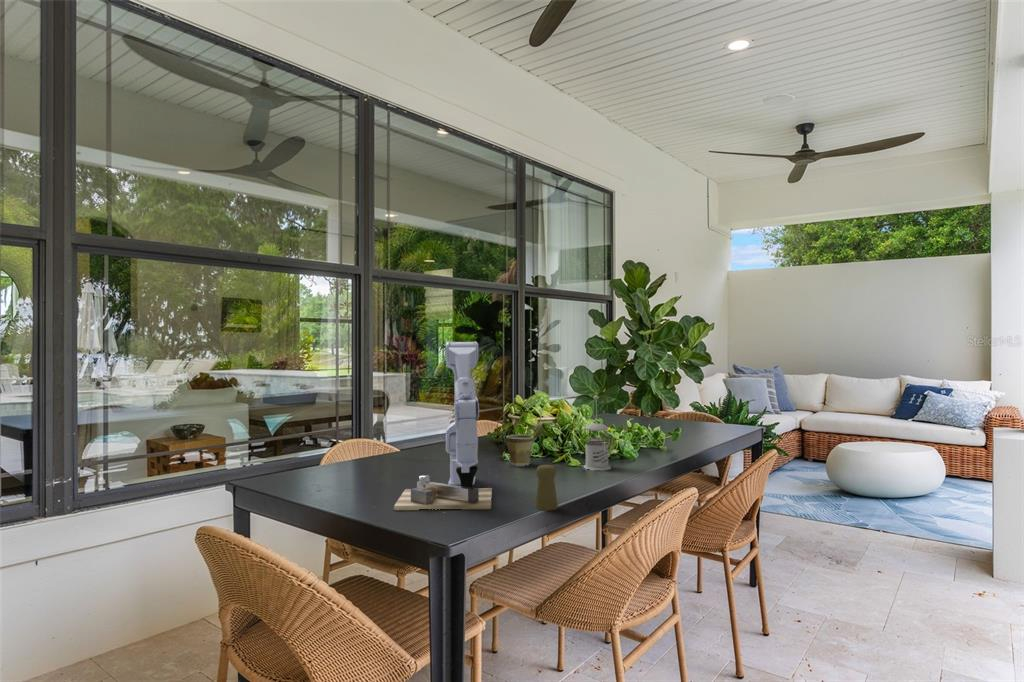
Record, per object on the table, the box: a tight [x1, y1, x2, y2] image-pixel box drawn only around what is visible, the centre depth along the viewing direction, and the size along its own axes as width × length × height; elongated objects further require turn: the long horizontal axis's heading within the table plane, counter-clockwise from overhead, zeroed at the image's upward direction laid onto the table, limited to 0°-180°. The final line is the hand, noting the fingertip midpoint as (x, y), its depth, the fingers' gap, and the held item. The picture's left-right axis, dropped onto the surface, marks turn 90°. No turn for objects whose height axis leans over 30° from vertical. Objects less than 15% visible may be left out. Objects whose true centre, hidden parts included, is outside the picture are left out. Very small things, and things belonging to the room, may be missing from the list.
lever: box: [416, 474, 479, 503], centre depth 164 cm, size 20×3×5 cm, turn 58°
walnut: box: [425, 486, 437, 499], centre depth 162 cm, size 4×4×4 cm
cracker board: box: [393, 487, 493, 511], centre depth 166 cm, size 18×25×1 cm
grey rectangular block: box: [410, 486, 433, 505], centre depth 160 cm, size 2×6×3 cm, turn 51°
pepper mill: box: [534, 464, 559, 511], centre depth 158 cm, size 6×6×11 cm
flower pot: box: [505, 433, 535, 467], centre depth 217 cm, size 13×10×10 cm
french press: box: [582, 395, 614, 471], centre depth 210 cm, size 10×12×25 cm
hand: (467, 494), depth 163 cm, fingers closed
